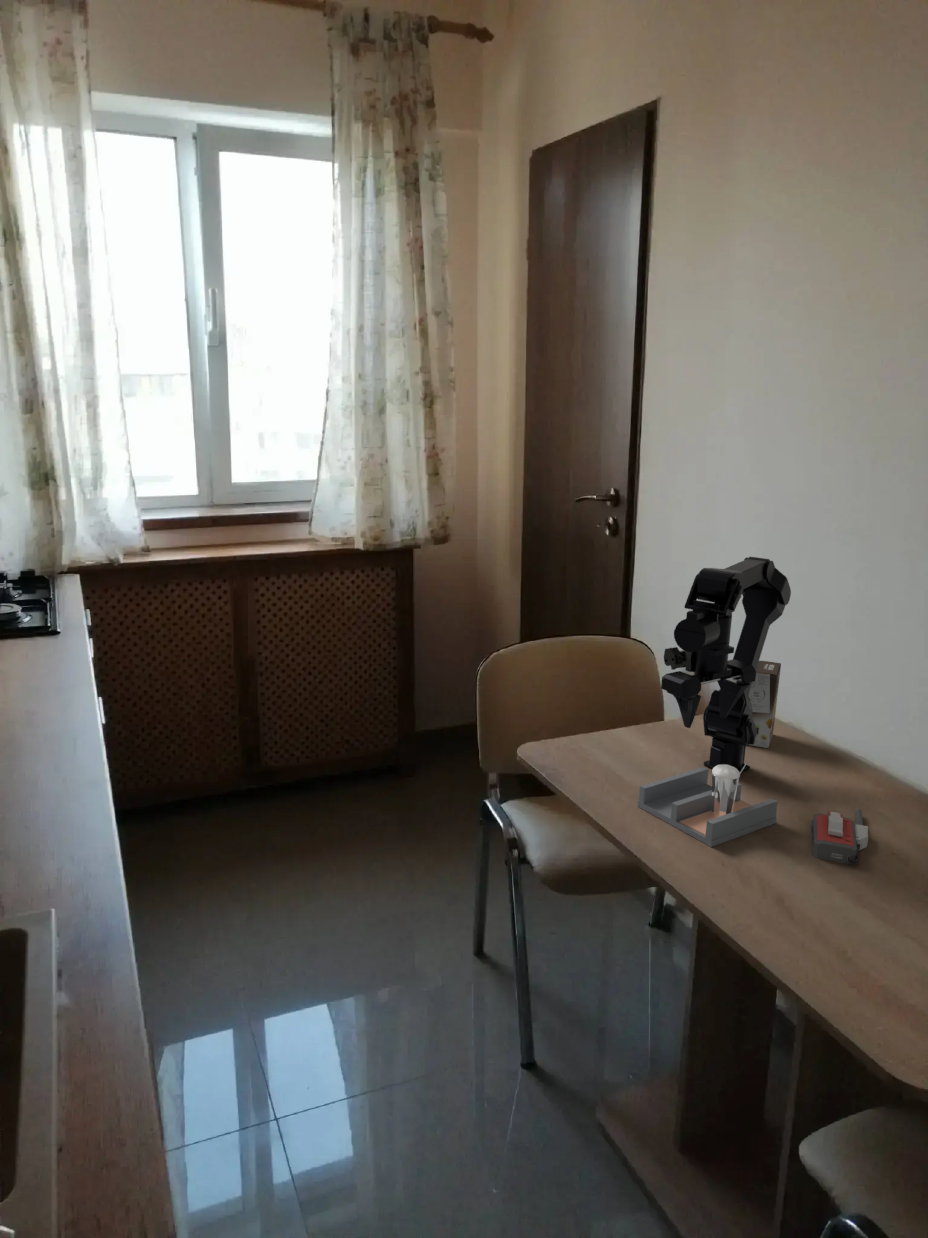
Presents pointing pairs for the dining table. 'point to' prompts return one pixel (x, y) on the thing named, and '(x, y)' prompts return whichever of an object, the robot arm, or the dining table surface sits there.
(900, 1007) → the dining table surface
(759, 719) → the coffee box
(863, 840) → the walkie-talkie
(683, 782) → the grey slotted tray
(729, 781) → the milkshake
